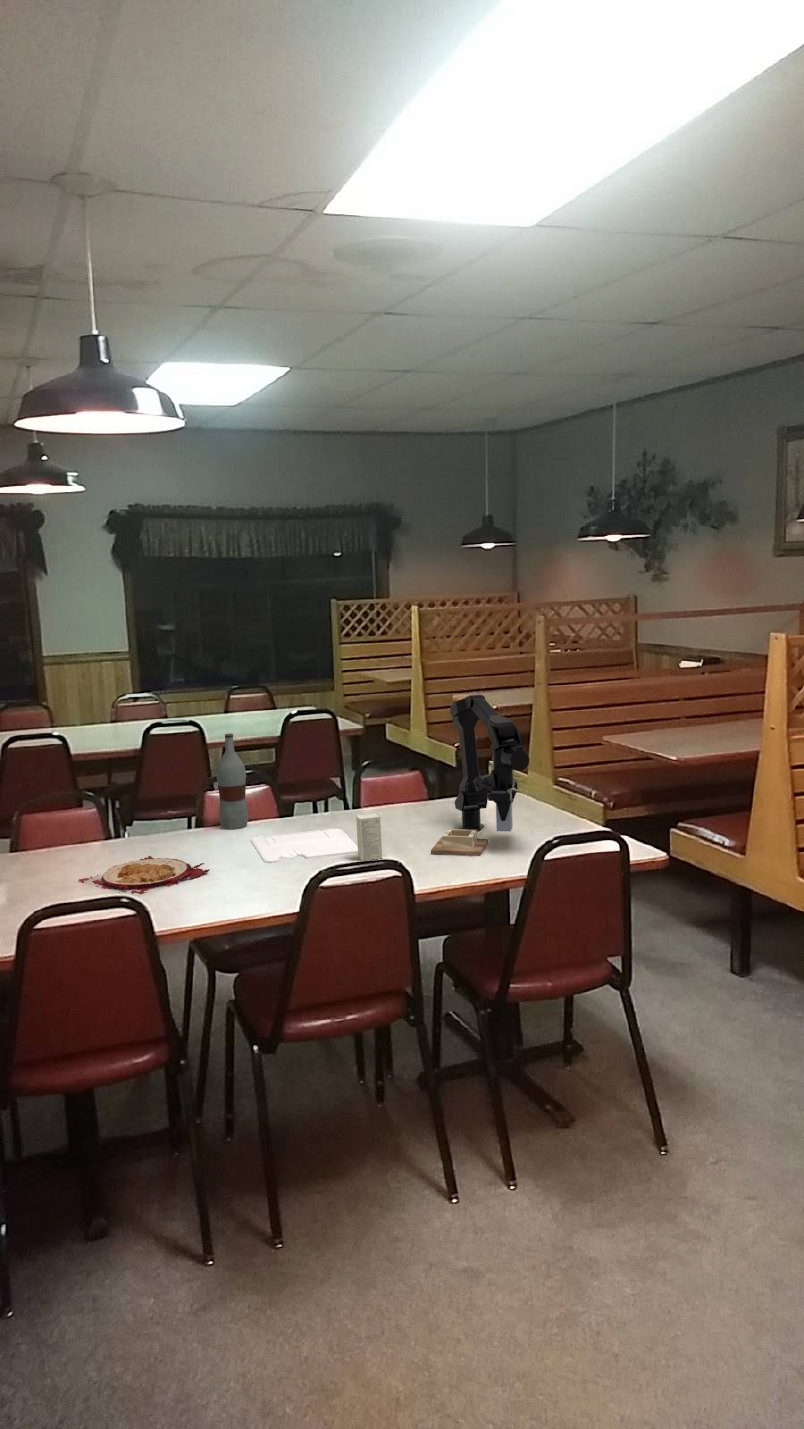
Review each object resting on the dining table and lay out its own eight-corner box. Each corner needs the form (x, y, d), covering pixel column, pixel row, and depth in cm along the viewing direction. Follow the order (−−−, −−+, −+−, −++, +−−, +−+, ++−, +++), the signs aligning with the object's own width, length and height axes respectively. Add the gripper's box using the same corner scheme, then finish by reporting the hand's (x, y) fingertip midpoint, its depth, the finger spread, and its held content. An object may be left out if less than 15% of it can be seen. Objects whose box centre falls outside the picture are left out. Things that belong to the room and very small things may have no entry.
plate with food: (150, 862, 274) (149, 850, 273) (210, 874, 258) (209, 861, 258) (77, 885, 255) (76, 873, 255) (137, 900, 240) (135, 886, 239)
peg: (498, 827, 278) (498, 793, 276) (512, 827, 277) (511, 793, 275) (496, 831, 274) (495, 796, 272) (510, 831, 273) (509, 796, 271)
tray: (363, 854, 274) (363, 849, 274) (265, 865, 266) (265, 860, 265) (339, 831, 300) (339, 826, 300) (249, 841, 292) (249, 836, 292)
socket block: (441, 841, 283) (441, 826, 282) (488, 842, 279) (488, 827, 278) (430, 854, 269) (430, 838, 269) (480, 856, 266) (479, 840, 265)
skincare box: (379, 855, 270) (377, 812, 269) (382, 859, 266) (381, 816, 264) (357, 857, 269) (355, 814, 267) (360, 861, 265) (358, 818, 263)
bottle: (252, 822, 313) (247, 731, 309) (244, 830, 304) (238, 736, 300) (224, 822, 314) (219, 732, 310) (215, 830, 305) (209, 736, 301)
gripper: (480, 759, 284) (482, 810, 286) (469, 771, 266) (470, 826, 268) (518, 759, 281) (519, 811, 283) (509, 771, 263) (510, 827, 265)
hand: (504, 819), depth 275 cm, fingers closed on peg, 4 cm apart
